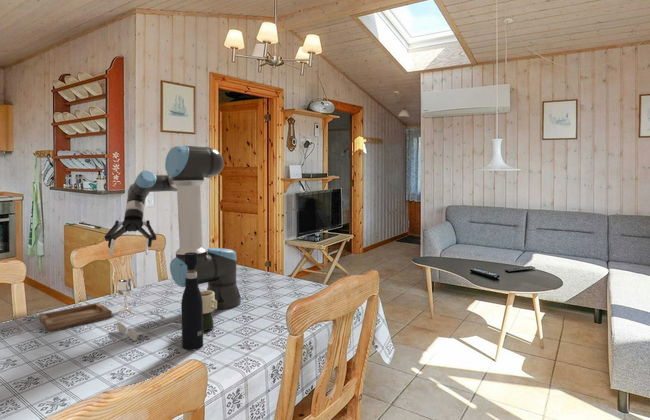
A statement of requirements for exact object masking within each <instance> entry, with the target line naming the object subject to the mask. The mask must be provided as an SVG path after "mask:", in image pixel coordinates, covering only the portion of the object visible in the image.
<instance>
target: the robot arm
mask: <svg viewBox="0 0 650 420" xmlns="http://www.w3.org/2000/svg"><path fill="white" fill-rule="evenodd" d="M164 163H165V164H164V169H165V171H166V175H165V174H161V175H160V174H155V173H154V172H152V171H150V170H147V169H145V170H142V171H140V173H139V174H138V175H137V176H136V177H135V180H134V183H132V184H130V185H129V186H128V190H127V199H126V204H125V205H126V206H125V210H124V216H123V221H119V220H115V222H114V225H113V226H112V227H111V228H110V229H109V230H108V232H107V233H106V234H105V235H104V240H105V242H108V243H107V246H108V248H109V254H110V255H109V256H112V257H113V256H114V249H115V243H116V242H115V241H116V240H117V239H118V238H120V237H121V236H122V235H124V234H125V233H127V232H137V231H138V232H139V233H140V234H141V235H142V236H143V237H144V238H145V239H146V240H145V248H144V249H145V255H146V256H147V255H148V254H149V248H151V247H152V243H153V241H157V235H156V233H155V231H154V229H153V228H152V226H151V222H150V220H148V219H147V220H146V221H144V212H145V204H146V199H147V197H148V195H149V194H150V193H151V192H152V193H153V192H154V193H155V192H176V196H177V197H176V199H177V221H178V239H179V241H178V242H179V248H178V249H177V250H176V251H175V257H174V258H172V259H171V260H170V263H169V271H170V275H171V277H172V280H173V281H174V283H175V284H176V285H177V286H178V287H180V288H185V287H186V286H185V278H186V273H187V272H188V271H187V265H185V253H190V252H195V253H198V264H196V270H195V271H196V272H197V277H198V286H199V285H203V284H207V287H206V291H213V292H214V294H215V300H216V301H217V309H216V310H224V309H225V310H226V309H231V308H234V307H237V306H239V305H240V304H241V303H242V296H241V294H240V292H239V291H240V290H239V288H238V285H237V261H238V259H237V252H236V251H235V250H233V249H230V248H221V247H209V248H208V249H206V248H205V247H204V245H203V244H204V243H203V225H202V224H203V223H202V222H203V221H202V219H203V218H202V198H201V197H202V194H201V185H202V184H203V183H204V182H205V179H211V178H213V177H215V176H217V175H219V174H220V173H221V172H222V171H223V169H224V163H225V161H224V158H223V155H222V154H221V153H220V152H219V150H217V149H215V148H213V147H210V146H193V145H175V146H172V147H171V148H170V149H169V151H168V152H167V154H166V157H165V162H164ZM143 226H145V227H146V228H147V230H148V232H147V231H146V230H145V229H144V228H143Z"/></svg>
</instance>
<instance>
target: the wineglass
mask: <svg viewBox="0 0 650 420" xmlns="http://www.w3.org/2000/svg"><path fill="white" fill-rule="evenodd" d="M116 292H117V295H119V296H120V297H123V301H124V308H121V309H119V312H121V313H128V312H131V311H132V310H133V309H132V308H131V307H127V300H128V298H127V297H128V296H131V294H133V292H134V285H133V282H132V279H130V278H123V279H119V280H118V281H117V286H116Z"/></svg>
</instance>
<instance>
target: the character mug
mask: <svg viewBox="0 0 650 420" xmlns="http://www.w3.org/2000/svg"><path fill="white" fill-rule="evenodd" d="M200 292H201V296H202V301H203V332H204V331H208V330H211V329H213V328H214V327H215V326H214V319H213V318H214V317H213V313H212V312H213V311H214V310H218V309H217V301H216V300H215V294H214V292H213V291H207V290H200Z"/></svg>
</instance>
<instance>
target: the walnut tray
mask: <svg viewBox="0 0 650 420" xmlns="http://www.w3.org/2000/svg"><path fill="white" fill-rule="evenodd" d="M112 313H113V312H112V310H111V309H109V308H108V307H106V306H105V305H103V304H101V303H100V302H94V303H90V304H86V305H85V304H84V305H81V306H76V307H75V306H74V307H70V308H66V309H61V310H56V311H49V312H46V313H40V314H39V322H40V323H41V324H42V325H43V326H44V327H45V328H46V330H47V331H49V332H50V333H52V332H56V331H60V330H64V329H69V328H72V327H74V328H75V327H77V326H82V325H86V324H91V323H96V322H99V321H104V320H107V319H111V318H112V317H113V314H112Z"/></svg>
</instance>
